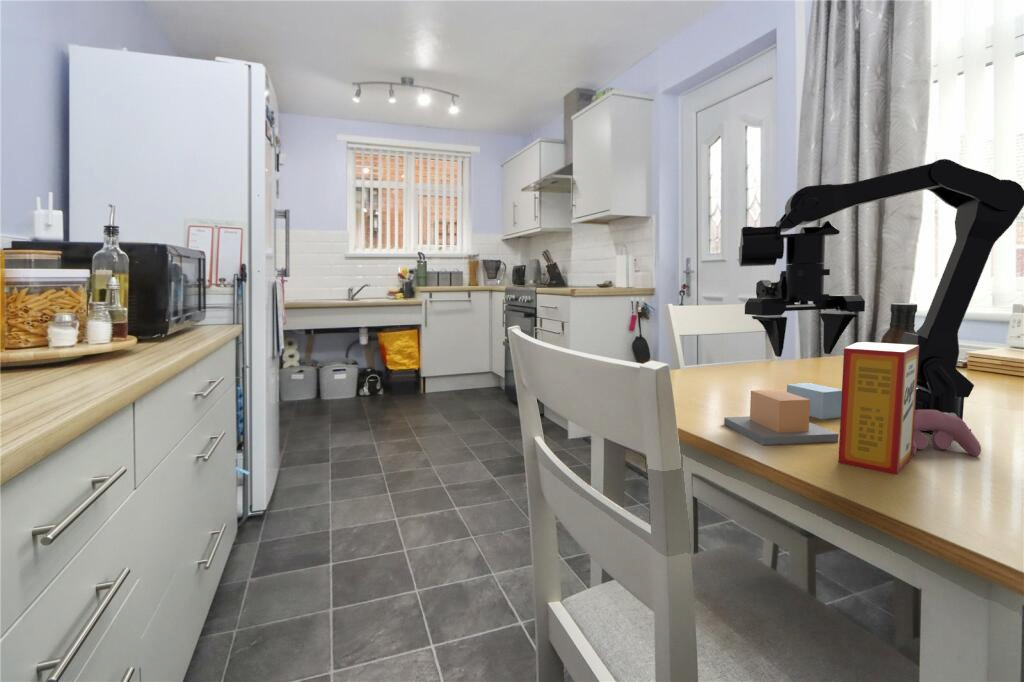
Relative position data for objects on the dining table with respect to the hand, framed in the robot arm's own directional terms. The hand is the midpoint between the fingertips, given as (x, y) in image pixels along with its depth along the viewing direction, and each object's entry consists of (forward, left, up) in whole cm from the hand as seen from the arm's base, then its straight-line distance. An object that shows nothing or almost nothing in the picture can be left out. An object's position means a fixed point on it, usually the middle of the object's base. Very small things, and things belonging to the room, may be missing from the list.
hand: (802, 355), depth 91 cm
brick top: (-6, -5, -12) cm, 14 cm away
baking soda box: (+3, +20, -12) cm, 24 cm away
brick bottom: (+8, +6, -11) cm, 14 cm away
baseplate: (+8, +6, -12) cm, 15 cm away
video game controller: (-8, +18, -12) cm, 23 cm away
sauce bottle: (-24, -7, -12) cm, 28 cm away
